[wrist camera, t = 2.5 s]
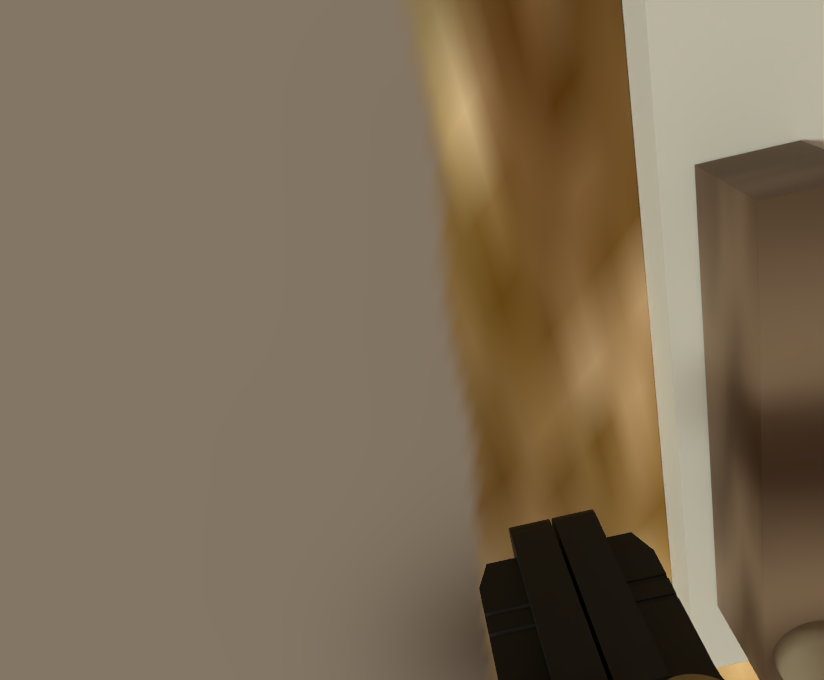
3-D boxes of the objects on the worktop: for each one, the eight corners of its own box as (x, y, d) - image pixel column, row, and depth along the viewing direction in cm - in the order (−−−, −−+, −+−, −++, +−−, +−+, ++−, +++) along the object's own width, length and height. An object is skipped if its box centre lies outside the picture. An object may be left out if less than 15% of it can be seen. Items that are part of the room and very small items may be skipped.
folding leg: (796, 589, 23) (868, 690, 20) (717, 606, 23) (776, 708, 20) (800, 140, 17) (904, 180, 14) (694, 164, 17) (773, 210, 14)
